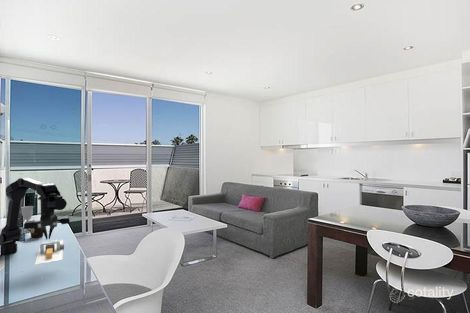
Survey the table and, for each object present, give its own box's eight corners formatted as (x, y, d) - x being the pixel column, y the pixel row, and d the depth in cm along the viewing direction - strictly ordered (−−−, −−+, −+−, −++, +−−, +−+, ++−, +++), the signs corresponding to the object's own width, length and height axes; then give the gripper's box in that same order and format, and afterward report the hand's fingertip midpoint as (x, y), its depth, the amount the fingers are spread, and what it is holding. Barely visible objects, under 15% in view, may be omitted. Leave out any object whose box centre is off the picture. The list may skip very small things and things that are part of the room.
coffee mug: (47, 236, 178) (47, 221, 178) (32, 239, 171) (32, 224, 171) (39, 233, 184) (39, 219, 184) (24, 236, 177) (24, 222, 177)
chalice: (20, 234, 183) (19, 208, 183) (22, 231, 189) (22, 206, 189) (33, 232, 187) (32, 207, 186) (35, 230, 193) (34, 205, 192)
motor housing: (40, 253, 146) (40, 244, 146) (41, 250, 150) (40, 242, 150) (63, 249, 152) (63, 241, 152) (64, 246, 156) (63, 238, 156)
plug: (44, 259, 138) (44, 252, 138) (46, 250, 150) (46, 244, 150) (53, 257, 140) (53, 250, 140) (54, 249, 152) (54, 243, 152)
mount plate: (34, 265, 131) (34, 264, 131) (41, 243, 163) (41, 242, 163) (62, 260, 137) (62, 259, 137) (63, 240, 169) (63, 239, 169)
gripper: (21, 214, 122) (22, 247, 123) (69, 209, 132) (69, 240, 133) (25, 209, 132) (25, 241, 132) (69, 205, 142) (69, 234, 142)
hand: (48, 239), depth 134 cm, fingers closed
